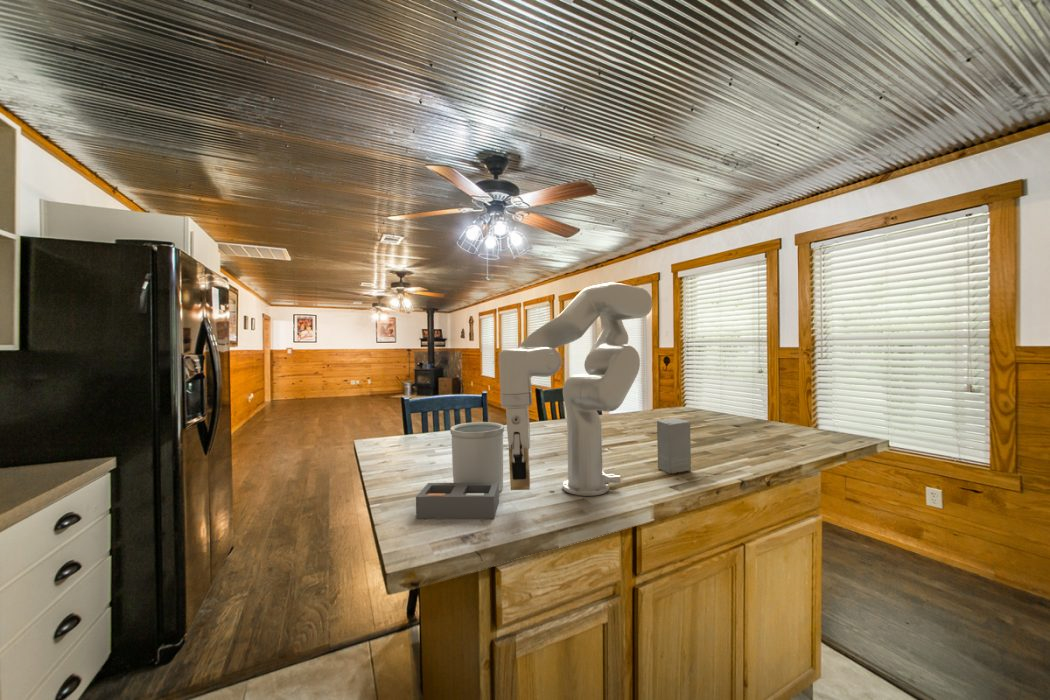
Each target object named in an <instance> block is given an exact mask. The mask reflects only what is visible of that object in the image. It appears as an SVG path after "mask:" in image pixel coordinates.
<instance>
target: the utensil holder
mask: <svg viewBox="0 0 1050 700" xmlns="http://www.w3.org/2000/svg"><path fill="white" fill-rule="evenodd" d="M449 431H450V436H451V459H452V460H451V461H452V462H451V463H452V480H453V482H452V483H498V484H499V493H500V492H501V491H502V490H503V489H504V431H505V426H504V424H502V423H498V422H492V421H475V422H472V421H471V422H465V423H458V424H455V425H451V427H450V429H449Z"/></svg>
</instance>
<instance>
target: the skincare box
mask: <svg viewBox="0 0 1050 700" xmlns="http://www.w3.org/2000/svg"><path fill="white" fill-rule="evenodd" d="M656 438H657V441H656V442H657V444H656V445H657V468H658V469H659V470H661V471H663V472H665V471H666V472H665V473H667V472H668V473H667V474H670V473H672V474H675V473H677V472H678V473H684V472H688V471H689V472H690V471H691V470H692V461H691V460H692V457H691V454H692V452H691V451H692V450H691V449H692V447H691V446H692V445H691V443H692V442H691V421H689V420H684V419H681V418H669V419H663V420H662V419H661V420H656Z"/></svg>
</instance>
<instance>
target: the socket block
mask: <svg viewBox="0 0 1050 700" xmlns="http://www.w3.org/2000/svg"><path fill="white" fill-rule="evenodd" d="M499 493H500V492H499V484H498V483H454V482H428V483H427V484H426V485H425V486H424V487H423V488H422V490H420V492H419V493H418V494H417V495H416V496H415V519H416V520H418V519H419V520H423V519H424V520H429V519H431V520H433V519H434V520H438V519H439V520H442V519H443V520H447V519H448V520H450V519H452V520H453V519H454V520H460V519H461V520H462V519H464V520H469V519H470V520H471V519H472V520H473V519H476V520H478V519H479V520H480V519H481V520H482V519H484V520H488V519H490V520H493V519H495V518H496V514H497V510H498V507H499V502H500V500H499V499H500V498H499Z"/></svg>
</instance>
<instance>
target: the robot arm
mask: <svg viewBox="0 0 1050 700" xmlns="http://www.w3.org/2000/svg"><path fill="white" fill-rule="evenodd" d="M652 308H653V299H652V296H651V294H650V293H649V292H648V291H647V290H646V289H645V288H642V287H639V286H635V285H634V286H633V285H630V284H624V283H618V282H607V283H605V282H604V283H601V284H596V285H591V286H588V287H585V288H583V289H582V290H581V291H580V292H579V293H578V294H577V295H576V296H575V297H574V298H573V299H572V300H571V301H570V303H568V304H567V306H566V307H565V308H564V309H563V310H562V311H561V312H560V313H559V314H558V315H557V316H556V317H554V318H553V319H551V320H550V321H548V322H546V323H545V324H543V325H542V326H541V327H539V328H537V329H536V330H535V331H533V332H531V333H530V334H529V335H528V336H527V337H526V338H525V339H524V340H523V341H522V342H521V343H520V345H518V346H517V347H516V348H510V349H503V350H501V351H500V352H499V354H498V369H499V389H500V407H501V408H502V409H505V413H506V415H505V416H506V433H507V443H508V450H509V449H510V450H512V460H513V462H512V475H513V479H514V480H517V479H526V462H524V448H527V450H528V449H530V448H531V428H530V414H529V412H530V411H529V407H532V406H533V395H532V392H533V391H532V377H540V378H547V377H551V376H553V375H556V374H557V373H558V372H559V371H560V369H561V367H562V363H563V361H562V356H561V354H560V353H559V351H557V348H559V347H562V346H564V345H568V344H570V343H573V342H576V341H577V340H579V339H580V338H582V337H583V336H584V335H585V333H587V331H588V329H590V327H591V326H592V325H593V324H594V323H595V322H596V320H597V319H598V318H599V320H600V323H601V331H600V334H599V335H598V337H597V339H596V341H595V342H594V344H593V345H592V348H590V350H589V352H588V354H587V355H586V357H585V360H584V370H585V372H586V373H576V374H573V375H571V376H569V377H568V378H567V379H566V380H565V382H564V384H563V387H562V396H563V397H562V398H563V403H564V407H565V414H566V415H565V416H566V432H567V433H566V437H567V438H566V441H567V443H566V444H567V480H564V481H563V482H562V484H561V485H562V490H564V492H567V493H568V494H570V495H571V494H572V495H575V496H584V497H586V496H587V497H589V496H590V497H593V496H599V495H604V494H605V493H607V492H608V491H609V488H610V486H609V485H610V483H611V484H620V483H621V475H615V474H614V473H609V474H608V473H607V474H606V473H605V472H604V469H603V434H602V433H603V425H602V420H601V416H600V414H599V413H598V411H599V412H613V411H616V410H617V409H619V408H620V406H621V405H622V404H623V402H624V401H625V399H626V397H627V395H628V393H629V391H630V389H631V387H632V386H633V384H634V382H635V381H636V379H637V376H638V374H639V371H640V367H641V366H640V364H641V363H640V362H641V358H640V355H639V352H638V351H637V350H636V348H635V347H633V346H631V345H629V344H628V343H629V335H628V332H627V329H626V328H625V325H624V322H623V321H624V320H625V321H626V320H633V319H641V318H642V319H643V318H645V317H647V316H648V315H649V314H650V312H651V311H652ZM520 446H522V449H520ZM521 451H522V454H521V453H520V452H521Z"/></svg>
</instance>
